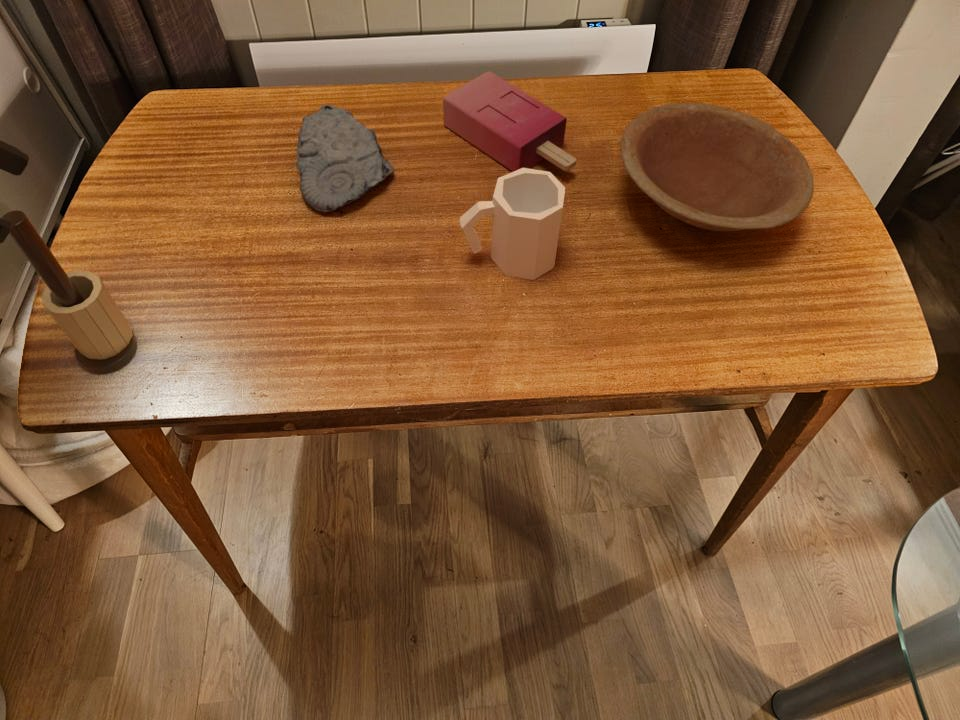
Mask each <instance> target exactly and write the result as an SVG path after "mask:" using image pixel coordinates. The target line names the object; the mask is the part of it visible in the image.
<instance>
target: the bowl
mask: <svg viewBox="0 0 960 720" xmlns="http://www.w3.org/2000/svg"><path fill="white" fill-rule="evenodd" d="M619 150H620V157H621V160H622V163H623V166H624V168H625V170H626V172H627V174H628V176H629V178H631V179H632V181H633V182H634V184H635V185H637V187H638V188H639V189H640V190H641V191H642V192H643V193H644V194H646V195H647V196H648V197H649V198H650V199H652V201H653V202H654V203H655V204H656V205H657V206H658V207H659V208H660V209H661V210H662V211H664V212H665V213H666V214H668V215H670V216H672V217H673V218H675V219H678V220H680V221H681V222H683V223H685V224H688V225H690V226H694V227H696V228H700V229H703V230H707V231H713V232H735V231H736V232H737V231H741V230H771V229H774V228H777V227H781V226H782V225H785V224H787V223H789V222H792V221H793V220H794V219H796V218H797V217H799V216H800V215H802V213H804V211H805V210H806V209H807V208H808V206H809V205H810V204H811V202H812V198H813V196H814V191H815V186H814V184H815V183H814V173H813V172H812V170H811V167H810V166H809V163H808V159H806V157H805V155H804V154H803V153H802V152H801V150H800V149H799V148H798V147H797V146H796V145H795V144H794V143H793V142H792V141H791V140H790V139H789V138H788V137H787V136H785V134H783V133H781V132H780V131H779V130H777V129H776V128H775V127H774V126H773V125H772V124H770V123H768V122H767V121H765V120H761V119H759V118H757V117H756V116H753V115H750V114H747V113H743V112H740V111H737V110H734V109H731V108H729V107H723V106H719V105H714V104H708V103H700V102H675V103H669V104H667V103H666V104H663V105H660V106H653V107H649V109H647V110H645V111H643V112H641V113H640V114H638V115H637V116H636V117H634V118H632V120H631V121H630V122H629V123H628V124H627V126H626V127H625V129H624V131H623V132H622V135H621V139H620V149H619Z"/></svg>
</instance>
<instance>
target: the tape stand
mask: <svg viewBox="0 0 960 720" xmlns="http://www.w3.org/2000/svg"><path fill="white" fill-rule="evenodd" d="M1 218H2V219H4V220H7V221H9V222H10V223H11V229H10V233H9V234H8V236H9V237H10V239H12V241H13V242H14V243H15V245H16V246H17V248H18V249H19V250H20V251H21V253H22V254H23V255H24V257H25V258H26V260H27V261H28V262H29V264H30V266H31V267H32V268H33V269H34V271H35V272H36V273H37V275H38V276H39V277H40V278H41V280H42V282H43V283H44V284H45V285H46V286H48V288H49V289H50V290H51V292H52V293H53V294H54V296H55V297H56V298H57V300H58V301H59V302H60V304H61V305H62V306H63V307H72V306H75V305H78V304H81V303H82V302H84V301H85V300H84V298H83V297H82V296H81V294H80V293H79V291H78V290H77V288H76V287H75V286H74V284H73V283H72V281H71V280H70V278H69V277H68V275H67V274H66V273H67V272H66V271H65V269H64V268H63V267H62V265H61V264H60V262H59V261H58V260H57V258H56V257H55V255H54V254H53V253H52V251H51V250H50V248H49V247H48V245H47V243H45V241H44V239H43V238H42V236H41V235H40V234H39V232H38V230H37V229H36V228H35V226H34V225H33V224H32V222H31V221H30V220H29V218H28V217H27V215H26V213H24V211H21V210H18V209H17V210H15V209H14V210H11V211H8V212H6V213H4V214H3V215H2V217H1ZM137 344H138V343H137V340H136V337H134V335H133V334H132V337H131V340H130V342H129V345H127V347H125V348H124V349H123V350H122V351H121V352H120V353H119V354H117V355H115V356H112V357H109V358H107V359H102V360H100V359H90V358H87V357H85V356H84V355H82V354H81V353H80V352H79V351H78V350H77V348H76V347H75V349H74V356H75V360H77V362H78V363H79V365H80V366H81V367H82V368H83V369H84V370H85V371H86V372H89V373H91V374H94V375H106V374H111V373H114V372H117V371H118V370H121V369H122V368H124V367H125V366H126V365H128V364H129V363H130V362H131V360H132V359H133V358H134V357H135V354H136V352H137V347H138V345H137Z"/></svg>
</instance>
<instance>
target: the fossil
mask: <svg viewBox="0 0 960 720" xmlns="http://www.w3.org/2000/svg"><path fill="white" fill-rule="evenodd" d="M377 138H378V137H377V134H376V132H375V131H374V130H373V129H370V128H368V127H367V126H365V125H364V124H363V123H361V122H360V121H359V120H358V119H356V118H355V116H354V115H353V114H352V113H350V112H349V111H348V110H347V109H345V108H343V107H339V106H335V105H328V104H322V105H321V107H320V108H319V109H318V110H317V111H316V112H314V113H311V114H308V115H307V116H304V117H302V124H301V126H300V128H299V131H298V135H297V145H296V159H297V161H296V163H295V165H296V169H297V171H298V173H299V174H300V183H299V191H300V193H301V196H302V199H303V200H304V201H305V203H306V204H307V205H308V206H310V207H311V208H312V209H314V210H315V211H319V212H324V213H328V212H333V211H335V210H338V209H341V208H343V207H344V206H346V205H348V204H350V203H352V202H354V201H356V200H358V199H359V198H361V197H362V196H364V195H365V194H366V193H368V192H369V190H370V189H373V187H376V186H377V185H379V184H380V183H382V182H383V181H384V180H385V179H386V178H387V177H388V176H390V175H391V174H392V173H393V172H395V171H394V169H395V167H394V166H393V165H391V163H390V161H389V160H388V159H386V158H385V156H384V154H383V153H382V147H381V145H380V144H379V143H378V141H377Z"/></svg>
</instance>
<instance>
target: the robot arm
mask: <svg viewBox="0 0 960 720" xmlns="http://www.w3.org/2000/svg"><path fill="white" fill-rule="evenodd" d="M29 160H30V157H29V155H28V154H26V153H25V152H23V151H22V150H21V149H19V148H18V147H16V146H14V145H12V144H9V143H7V142H4V141H3V140H1V139H0V170H2V171H4V172H6V173H9V174H11V175H13V176H21V175H22V174H23V173H24V171H25V169H26V167H27V166H28V164H29ZM10 229H11V223H10V222H9V221H7V220H4V219H2V217H0V244H2V243H4V242H5V241H6V239H7V237H8V236H9V233H10Z"/></svg>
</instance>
